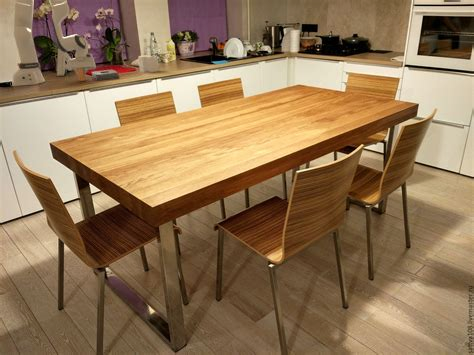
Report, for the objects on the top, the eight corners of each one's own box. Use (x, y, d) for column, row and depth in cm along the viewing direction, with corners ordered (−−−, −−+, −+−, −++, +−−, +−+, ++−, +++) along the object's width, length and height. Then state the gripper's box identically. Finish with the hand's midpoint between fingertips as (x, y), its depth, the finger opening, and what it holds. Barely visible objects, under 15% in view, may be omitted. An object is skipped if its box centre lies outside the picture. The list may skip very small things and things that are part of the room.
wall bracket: (77, 90, 337) (62, 74, 308) (71, 90, 337) (56, 74, 308) (77, 66, 341) (63, 48, 312) (72, 66, 341) (57, 48, 312)
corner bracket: (140, 71, 320) (138, 56, 315) (151, 69, 327) (150, 54, 322) (147, 72, 313) (145, 57, 308) (159, 70, 320) (157, 55, 315)
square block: (78, 80, 289) (76, 69, 286) (80, 79, 292) (78, 68, 289) (84, 80, 289) (82, 69, 286) (85, 79, 293) (83, 68, 290)
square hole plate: (97, 80, 289) (96, 74, 287) (92, 77, 301) (91, 71, 300) (118, 77, 296) (118, 72, 294) (113, 74, 308) (112, 69, 307)
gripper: (65, 56, 289) (64, 72, 284) (94, 55, 291) (93, 70, 286) (68, 61, 295) (67, 77, 290) (96, 60, 297) (96, 75, 292)
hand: (80, 74), depth 288 cm, fingers closed on square block, 4 cm apart
